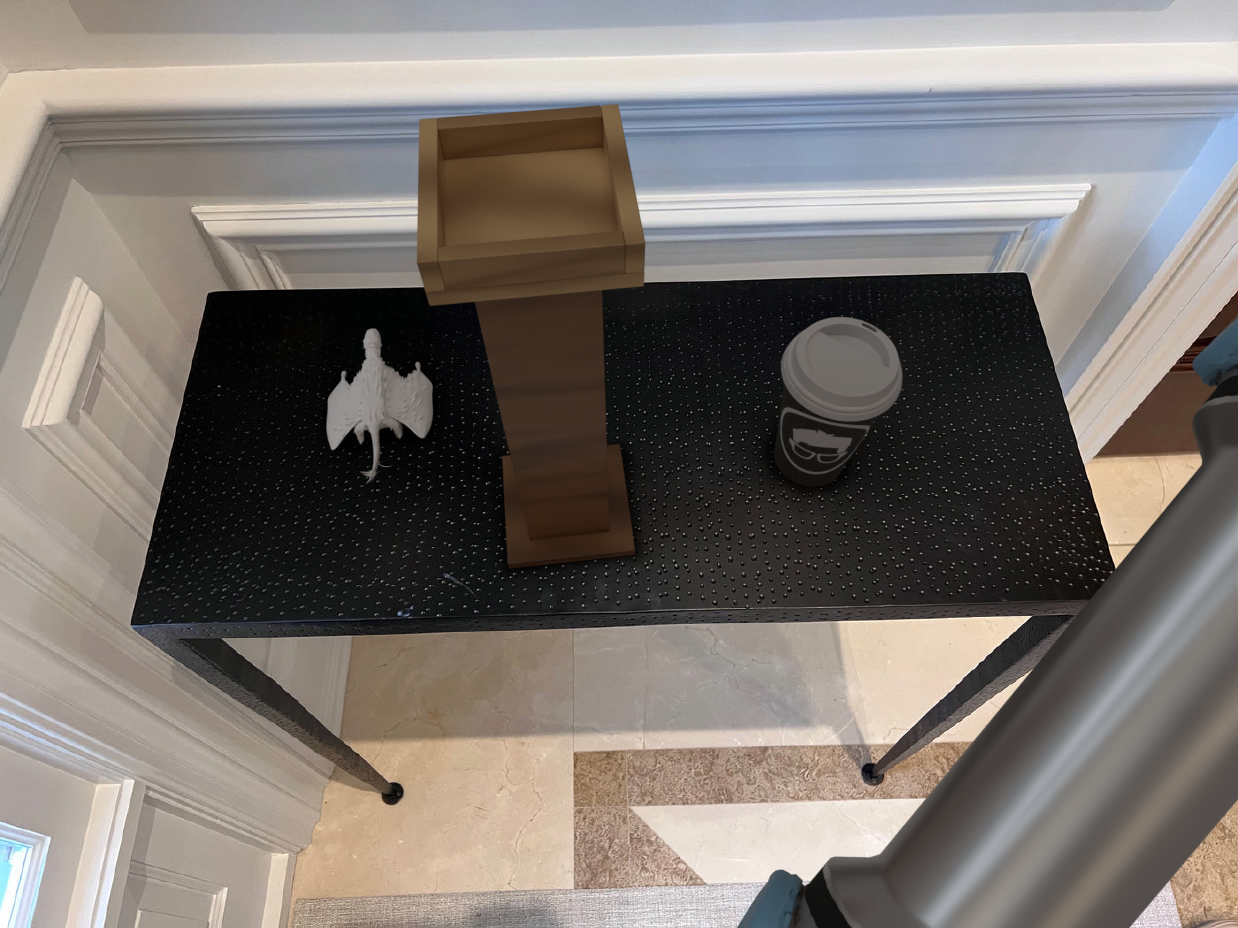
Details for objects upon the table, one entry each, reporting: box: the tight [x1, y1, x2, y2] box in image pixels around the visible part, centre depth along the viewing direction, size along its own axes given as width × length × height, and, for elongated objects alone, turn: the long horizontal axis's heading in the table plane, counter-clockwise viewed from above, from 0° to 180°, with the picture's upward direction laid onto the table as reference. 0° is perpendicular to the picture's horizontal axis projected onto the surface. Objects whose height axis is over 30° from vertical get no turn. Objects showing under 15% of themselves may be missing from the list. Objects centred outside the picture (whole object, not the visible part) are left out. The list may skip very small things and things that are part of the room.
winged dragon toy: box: [326, 328, 434, 485], centre depth 75 cm, size 18×10×4 cm, turn 9°
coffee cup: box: [773, 316, 903, 488], centre depth 68 cm, size 10×10×15 cm
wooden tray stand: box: [416, 103, 646, 569], centre depth 56 cm, size 11×11×36 cm
